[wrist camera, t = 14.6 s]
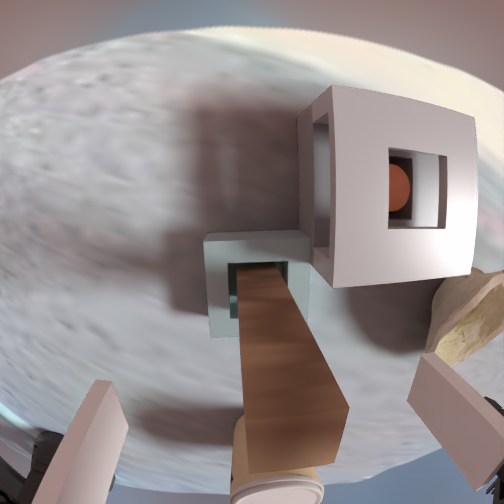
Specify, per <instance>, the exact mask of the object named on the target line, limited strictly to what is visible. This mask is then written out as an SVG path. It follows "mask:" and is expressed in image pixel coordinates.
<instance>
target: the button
mask: <svg viewBox="0 0 504 504" xmlns="http://www.w3.org/2000/svg"><path fill="white" fill-rule="evenodd" d="M409 194H410V183H409V179H408V177H407V175H406V173H405V172H404V171H403V170H402V169H401V168H400V167H399V166H397V165H394V164H389V211H397V210H399V209H401V208H402V207H403V206H404V205H405V204H406V202H407V200H408V198H409Z"/></svg>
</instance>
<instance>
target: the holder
mask: <svg viewBox="0 0 504 504" xmlns="http://www.w3.org/2000/svg"><path fill="white" fill-rule="evenodd" d="M203 247H204V263H205V277H206V291H207V303H208V315H209V326H210V337H211V338H220V337H239V321H238V302H237V279H236V263H247V262H272V261H274V262H275V264H276V266H277V268H278V270H279V272H280V274H281V275H282V277H283V279H284V281H285V283H286V285H287V287H288V289H289V291H290V293H291V294H292V296H293V298H294V300H295V302H296V304H297V306H298V308H299V310H300V312H301V314H302V316H303V317H304V319H305V321H306V323H307V320H308V301H309V277H310V237H308V236H307V235H306V234H304V233H303V232H301V231H300V230H270V231H239V232H213V233H207V235H206V237H205V239H204V241H203Z"/></svg>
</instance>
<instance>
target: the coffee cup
mask: <svg viewBox="0 0 504 504" xmlns="http://www.w3.org/2000/svg"><path fill="white" fill-rule="evenodd" d="M323 494H324V487H323V485H322V483H321V482H320V481H319V478H318V475H317V472H316V470H315V467H308V468H302V469H295V470H287V471H278V472H267V473H253V474H249V470H248V457H247V444H246V431H245V417H244V415H242V416H241V417H240V418H239V419H238V421H237V422H236V424H235V428H234V439H233V453H232V468H231V485H230V495H229V504H319V503H320V502H321V500H322V498H323Z"/></svg>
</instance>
